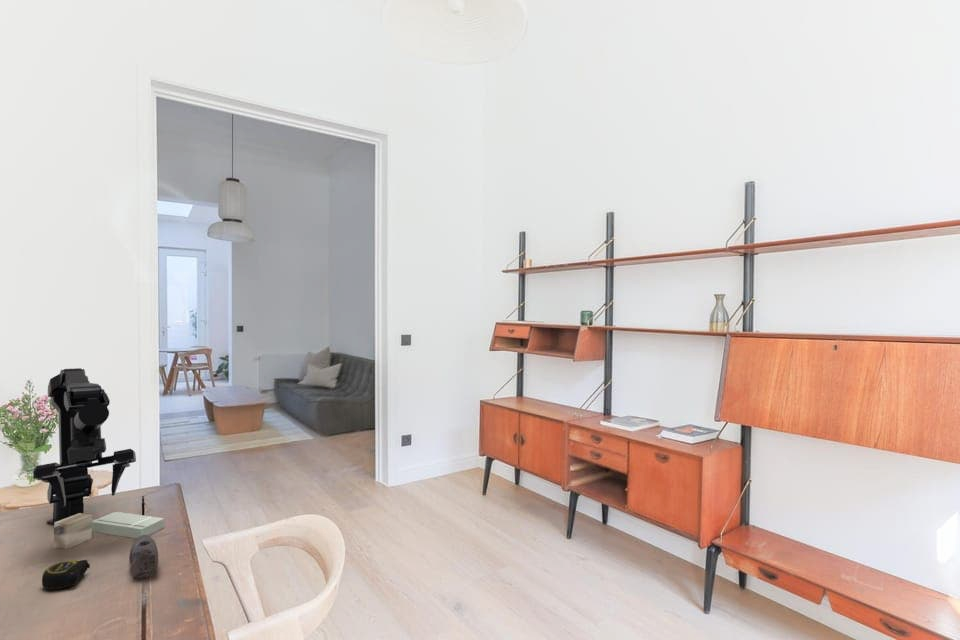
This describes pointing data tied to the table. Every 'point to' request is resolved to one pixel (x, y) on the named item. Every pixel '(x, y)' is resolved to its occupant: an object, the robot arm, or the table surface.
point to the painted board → (127, 524)
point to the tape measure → (64, 574)
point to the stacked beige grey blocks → (72, 530)
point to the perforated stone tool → (143, 557)
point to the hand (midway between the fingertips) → (89, 500)
